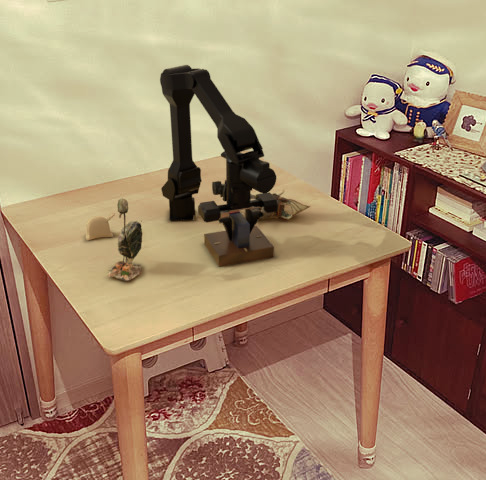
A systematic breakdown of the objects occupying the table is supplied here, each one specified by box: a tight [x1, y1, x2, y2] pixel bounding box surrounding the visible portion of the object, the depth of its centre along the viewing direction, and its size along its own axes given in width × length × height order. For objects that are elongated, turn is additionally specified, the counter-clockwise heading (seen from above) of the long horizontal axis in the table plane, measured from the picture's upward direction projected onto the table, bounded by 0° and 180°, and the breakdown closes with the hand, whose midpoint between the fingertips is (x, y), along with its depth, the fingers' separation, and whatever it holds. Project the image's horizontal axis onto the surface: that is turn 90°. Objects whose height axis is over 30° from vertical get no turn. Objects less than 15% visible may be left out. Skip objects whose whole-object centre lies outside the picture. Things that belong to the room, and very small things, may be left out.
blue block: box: [229, 210, 250, 248], centre depth 174 cm, size 8×3×6 cm, turn 17°
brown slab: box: [203, 225, 275, 267], centre depth 177 cm, size 14×12×3 cm
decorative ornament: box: [85, 213, 116, 241], centre depth 185 cm, size 4×8×5 cm, turn 106°
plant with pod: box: [106, 198, 143, 282], centre depth 165 cm, size 8×11×20 cm
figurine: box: [244, 188, 311, 221], centre depth 192 cm, size 20×6×17 cm
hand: (238, 238), depth 176 cm, fingers open, 4 cm apart
